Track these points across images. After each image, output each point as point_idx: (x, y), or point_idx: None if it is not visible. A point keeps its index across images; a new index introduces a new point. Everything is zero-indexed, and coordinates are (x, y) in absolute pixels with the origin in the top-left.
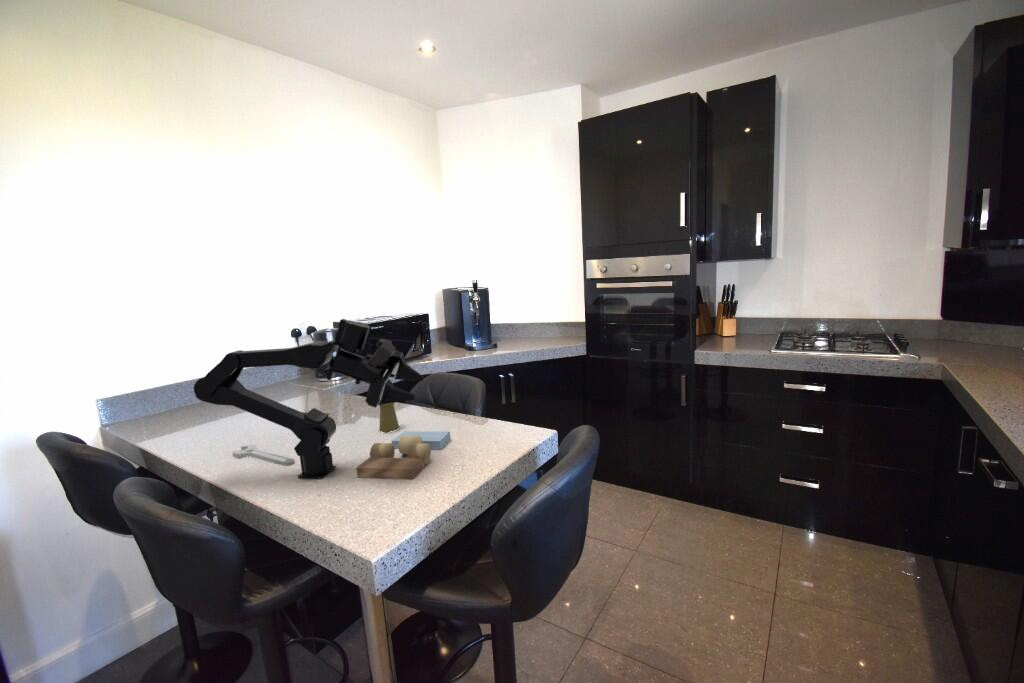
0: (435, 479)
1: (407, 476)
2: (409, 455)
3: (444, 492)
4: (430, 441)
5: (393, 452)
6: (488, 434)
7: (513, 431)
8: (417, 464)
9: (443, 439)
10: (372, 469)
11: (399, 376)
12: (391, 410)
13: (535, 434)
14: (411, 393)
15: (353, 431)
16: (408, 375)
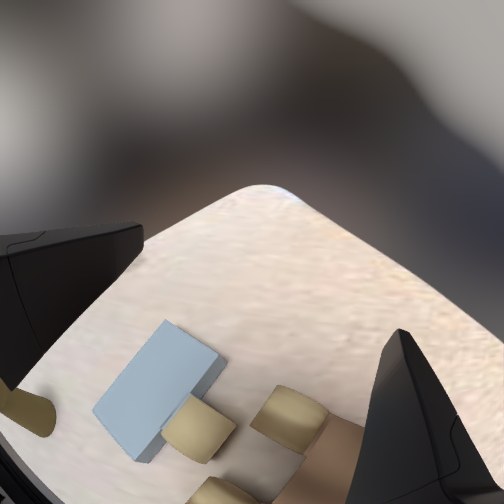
0: None
1: None
2: (305, 447)
3: (473, 365)
4: (203, 376)
5: (219, 480)
6: (201, 258)
7: (217, 222)
8: (363, 428)
9: (200, 343)
10: None
11: (17, 357)
12: (16, 396)
13: (255, 198)
14: (404, 346)
15: None
16: (56, 296)
